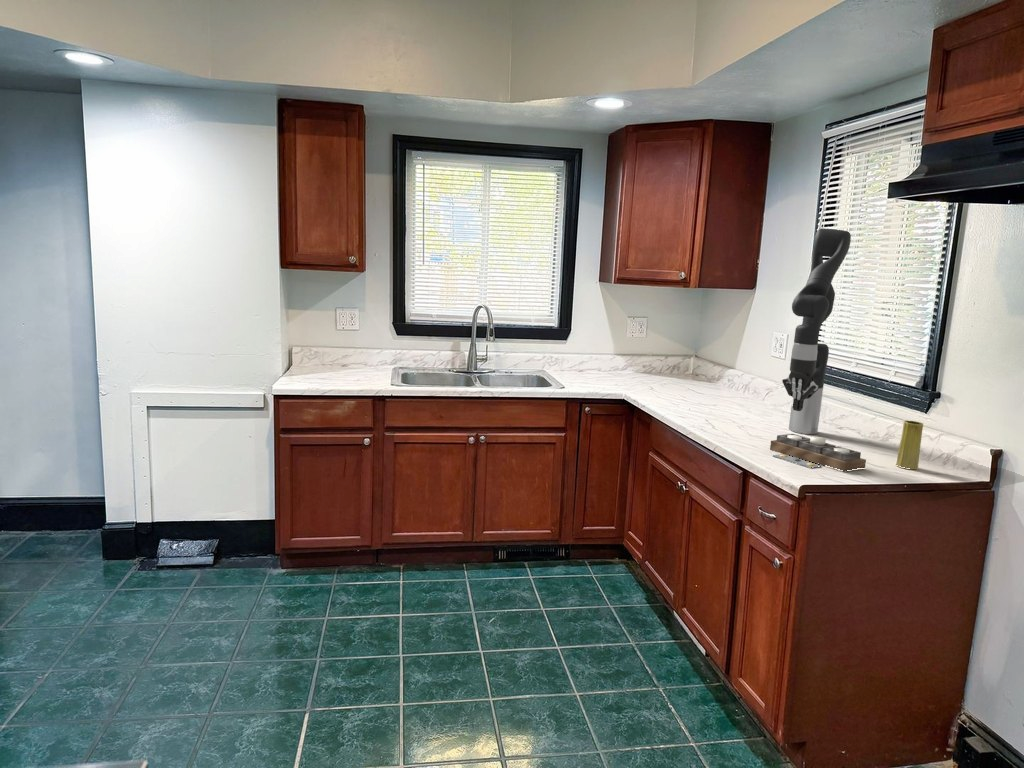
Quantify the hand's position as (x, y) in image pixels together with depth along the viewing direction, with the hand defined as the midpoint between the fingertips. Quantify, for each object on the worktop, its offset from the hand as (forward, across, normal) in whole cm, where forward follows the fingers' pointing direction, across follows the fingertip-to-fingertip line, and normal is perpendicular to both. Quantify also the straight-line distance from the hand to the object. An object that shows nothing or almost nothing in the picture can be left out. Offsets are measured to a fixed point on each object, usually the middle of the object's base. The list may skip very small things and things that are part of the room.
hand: (797, 410), depth 224 cm
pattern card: (+14, -9, +9) cm, 19 cm away
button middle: (+9, -9, 0) cm, 13 cm away
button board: (+14, -9, 0) cm, 16 cm away
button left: (+11, 0, 0) cm, 11 cm away
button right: (+10, -17, 0) cm, 20 cm away
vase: (+14, -26, -21) cm, 36 cm away
